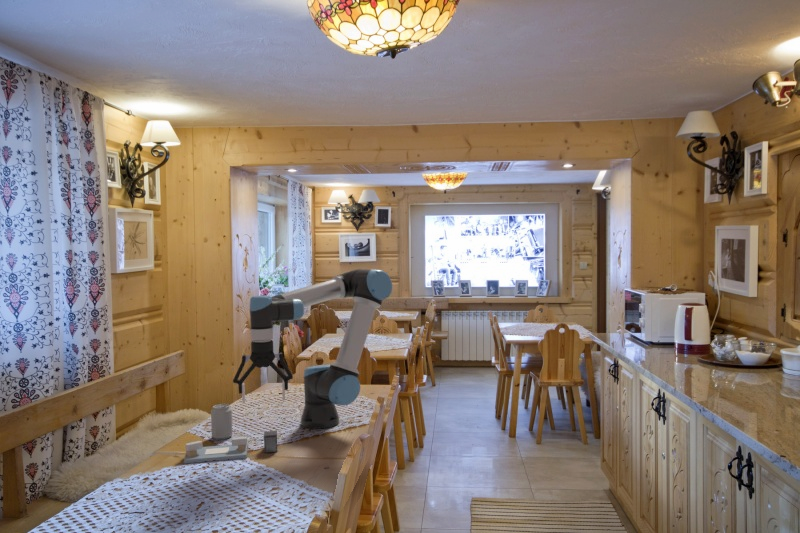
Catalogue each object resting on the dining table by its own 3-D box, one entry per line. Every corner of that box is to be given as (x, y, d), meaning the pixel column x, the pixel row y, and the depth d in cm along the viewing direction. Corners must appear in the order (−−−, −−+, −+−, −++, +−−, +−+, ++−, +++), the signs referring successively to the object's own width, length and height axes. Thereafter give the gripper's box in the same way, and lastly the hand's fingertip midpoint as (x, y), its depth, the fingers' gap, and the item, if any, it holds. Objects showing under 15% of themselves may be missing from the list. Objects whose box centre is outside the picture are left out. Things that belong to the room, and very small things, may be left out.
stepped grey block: (264, 447, 212) (264, 430, 212) (277, 446, 213) (276, 429, 213) (264, 454, 206) (263, 436, 205) (277, 452, 207) (277, 435, 206)
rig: (248, 446, 214) (247, 432, 213) (246, 458, 202) (246, 443, 202) (188, 451, 210) (187, 437, 209) (183, 463, 198) (182, 448, 198)
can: (226, 441, 220) (225, 408, 220) (207, 440, 222) (206, 407, 221) (236, 434, 228) (235, 403, 227) (218, 433, 229) (217, 402, 229)
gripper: (297, 336, 215) (299, 395, 216) (225, 340, 210) (227, 401, 210) (298, 339, 208) (300, 400, 208) (223, 344, 202) (226, 406, 203)
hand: (263, 401), depth 209 cm, fingers open, 13 cm apart
